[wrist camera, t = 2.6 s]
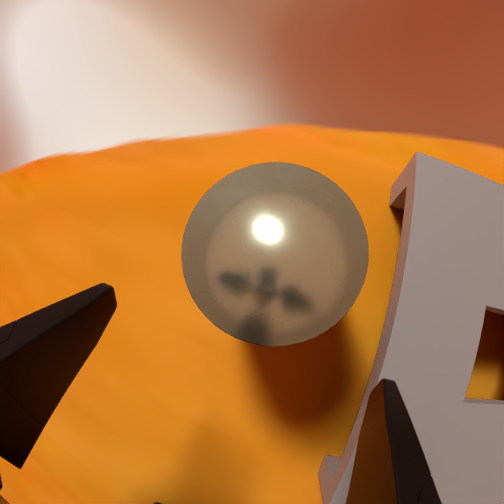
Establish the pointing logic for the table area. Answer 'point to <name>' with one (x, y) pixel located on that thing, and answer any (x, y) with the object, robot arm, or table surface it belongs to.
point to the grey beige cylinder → (275, 254)
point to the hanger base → (441, 331)
